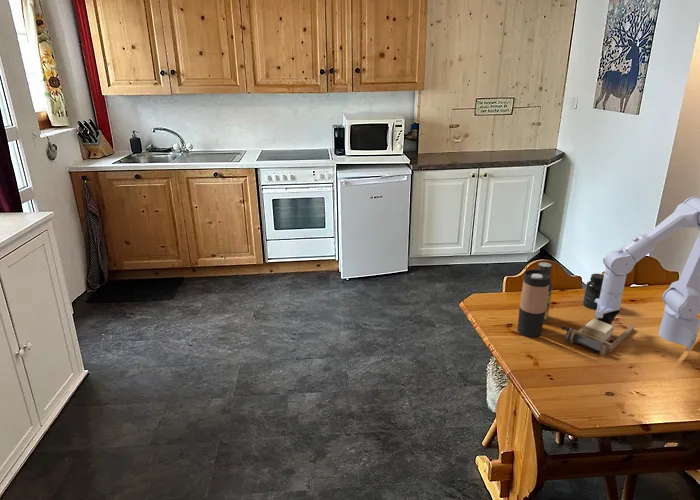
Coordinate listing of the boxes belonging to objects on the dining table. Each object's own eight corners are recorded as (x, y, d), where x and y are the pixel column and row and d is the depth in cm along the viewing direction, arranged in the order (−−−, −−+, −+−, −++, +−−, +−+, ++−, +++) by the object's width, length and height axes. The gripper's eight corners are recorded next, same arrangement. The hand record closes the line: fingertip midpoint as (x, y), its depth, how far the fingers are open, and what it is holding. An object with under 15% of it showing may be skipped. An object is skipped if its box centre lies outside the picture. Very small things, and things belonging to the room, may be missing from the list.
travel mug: (514, 334, 153) (522, 276, 146) (518, 323, 160) (526, 267, 152) (540, 340, 150) (549, 281, 143) (543, 329, 156) (552, 272, 149)
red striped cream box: (610, 340, 148) (614, 325, 146) (602, 347, 144) (605, 333, 143) (590, 332, 152) (593, 318, 151) (582, 339, 149) (584, 325, 147)
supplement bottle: (607, 312, 166) (614, 280, 162) (587, 312, 166) (593, 280, 162) (598, 302, 173) (604, 272, 168) (578, 302, 173) (584, 271, 168)
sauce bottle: (548, 325, 158) (558, 269, 151) (528, 323, 159) (536, 268, 152) (545, 315, 164) (554, 261, 157) (526, 314, 165) (533, 260, 158)
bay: (632, 332, 154) (635, 322, 153) (608, 355, 142) (610, 345, 141) (597, 319, 162) (599, 310, 160) (571, 340, 150) (573, 330, 148)
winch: (607, 355, 142) (610, 340, 141) (601, 360, 140) (604, 345, 138) (563, 337, 151) (566, 323, 149) (557, 342, 149) (560, 328, 147)
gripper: (607, 279, 153) (600, 317, 158) (587, 293, 144) (580, 333, 149) (632, 286, 148) (623, 325, 153) (612, 301, 139) (604, 342, 144)
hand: (603, 330), depth 151 cm, fingers closed
